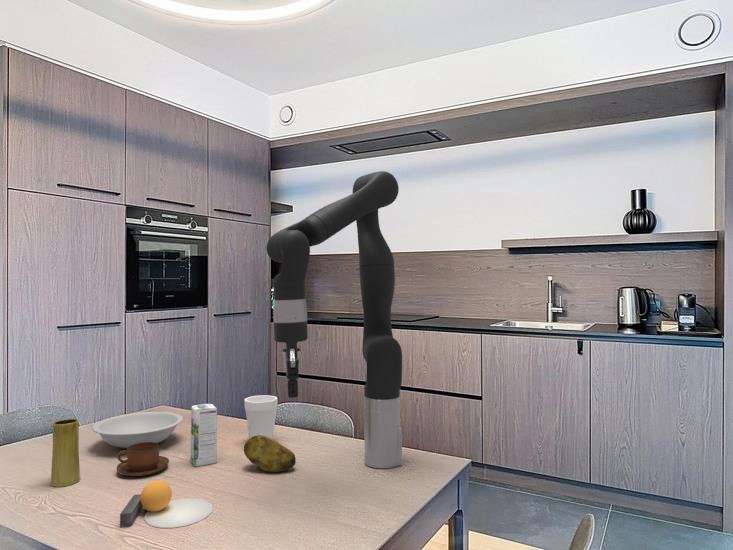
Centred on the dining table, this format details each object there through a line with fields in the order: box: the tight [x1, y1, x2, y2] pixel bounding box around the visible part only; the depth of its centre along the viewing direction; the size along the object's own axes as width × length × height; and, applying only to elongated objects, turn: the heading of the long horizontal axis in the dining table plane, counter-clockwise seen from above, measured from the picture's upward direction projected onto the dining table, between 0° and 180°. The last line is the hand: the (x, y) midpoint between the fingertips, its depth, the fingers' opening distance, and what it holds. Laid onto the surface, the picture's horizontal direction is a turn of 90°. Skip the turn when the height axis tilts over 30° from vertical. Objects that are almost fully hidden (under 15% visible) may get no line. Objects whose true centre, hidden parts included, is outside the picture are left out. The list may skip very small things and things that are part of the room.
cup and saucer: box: [116, 442, 170, 477], centre depth 128 cm, size 12×12×6 cm
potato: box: [243, 435, 297, 473], centre depth 129 cm, size 8×13×8 cm, turn 59°
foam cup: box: [243, 394, 279, 440], centre depth 149 cm, size 10×9×13 cm
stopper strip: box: [119, 493, 144, 528], centre depth 103 cm, size 2×9×2 cm, turn 9°
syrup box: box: [190, 403, 218, 468], centre depth 134 cm, size 6×6×14 cm
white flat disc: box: [144, 498, 213, 529], centre depth 105 cm, size 13×13×1 cm
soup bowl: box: [91, 411, 184, 449], centre depth 149 cm, size 24×24×7 cm
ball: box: [140, 479, 172, 512], centre depth 106 cm, size 6×6×6 cm
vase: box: [49, 418, 81, 488], centre depth 121 cm, size 6×6×14 cm
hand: (293, 396), depth 115 cm, fingers closed
